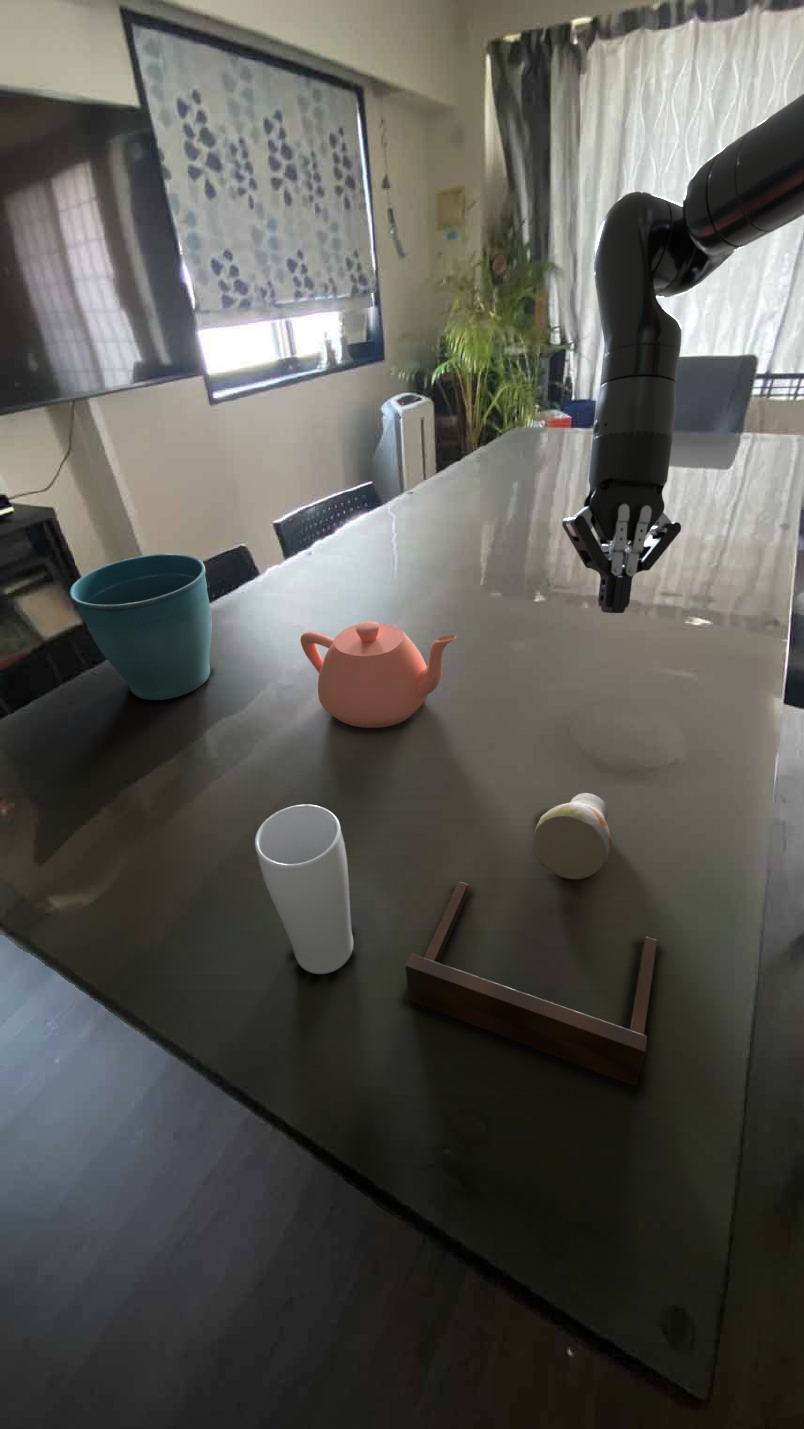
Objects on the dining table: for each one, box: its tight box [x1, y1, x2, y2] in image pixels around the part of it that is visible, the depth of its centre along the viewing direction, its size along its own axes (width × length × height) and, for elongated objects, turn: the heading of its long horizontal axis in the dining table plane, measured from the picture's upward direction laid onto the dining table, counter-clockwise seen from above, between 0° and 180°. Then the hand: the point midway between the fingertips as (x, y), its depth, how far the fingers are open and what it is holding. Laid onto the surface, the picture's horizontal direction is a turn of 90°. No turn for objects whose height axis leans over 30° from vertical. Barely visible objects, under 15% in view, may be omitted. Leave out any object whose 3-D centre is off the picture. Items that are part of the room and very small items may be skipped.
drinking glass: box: [254, 804, 355, 975], centre depth 53 cm, size 7×7×15 cm
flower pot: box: [69, 553, 213, 701], centre depth 94 cm, size 18×18×17 cm
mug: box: [533, 792, 612, 880], centre depth 63 cm, size 8×10×10 cm
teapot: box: [299, 620, 457, 729], centre depth 85 cm, size 22×15×12 cm
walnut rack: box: [404, 881, 658, 1087], centre depth 53 cm, size 18×12×5 cm
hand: (612, 612), depth 67 cm, fingers closed
